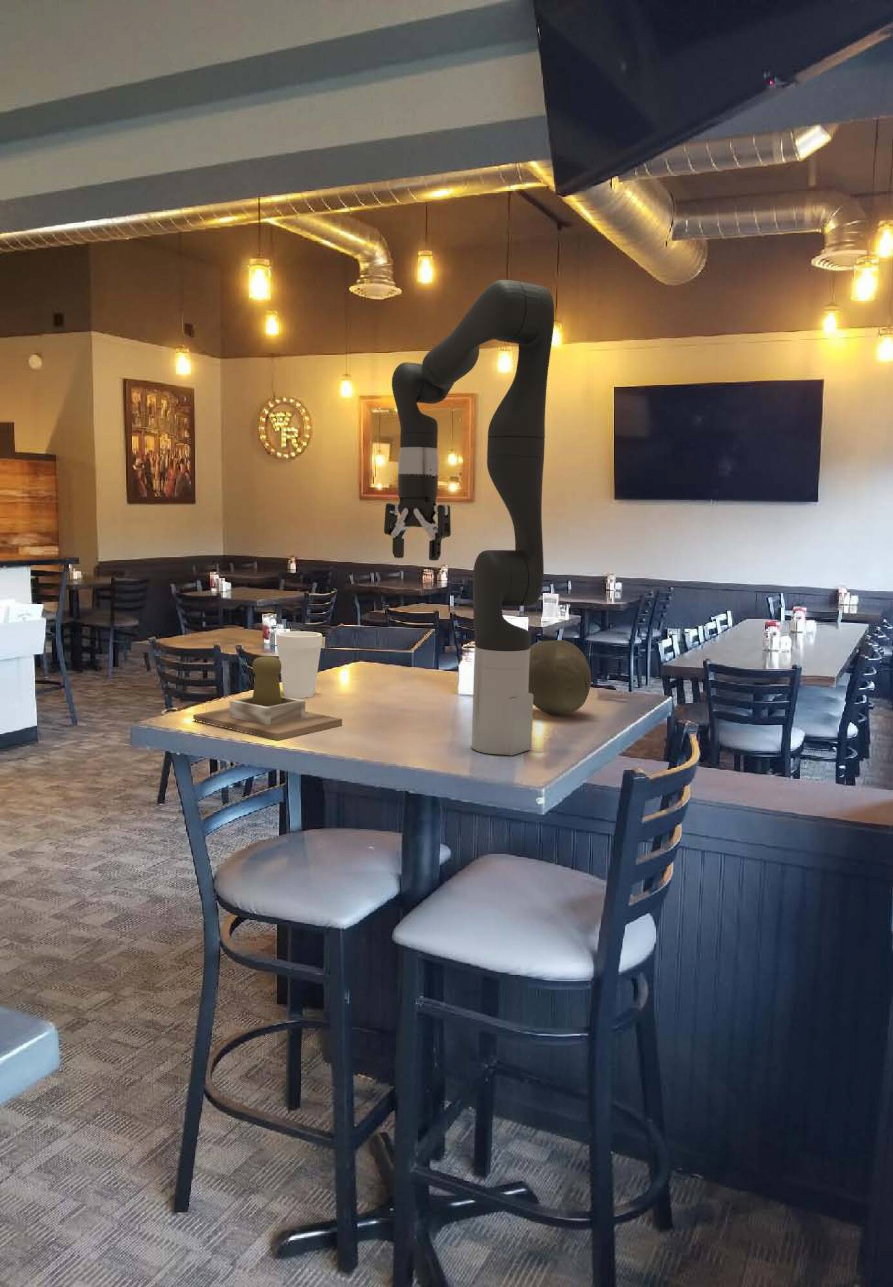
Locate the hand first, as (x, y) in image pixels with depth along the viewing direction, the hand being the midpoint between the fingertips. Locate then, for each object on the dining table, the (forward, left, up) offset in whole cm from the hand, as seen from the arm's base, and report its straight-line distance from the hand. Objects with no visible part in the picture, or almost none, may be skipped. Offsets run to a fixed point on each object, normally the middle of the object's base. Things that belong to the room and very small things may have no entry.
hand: (416, 559), depth 184 cm
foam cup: (+29, +2, -30) cm, 42 cm away
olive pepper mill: (+14, +25, -29) cm, 41 cm away
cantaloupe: (-21, -18, -30) cm, 41 cm away
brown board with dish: (+14, +25, -30) cm, 42 cm away
